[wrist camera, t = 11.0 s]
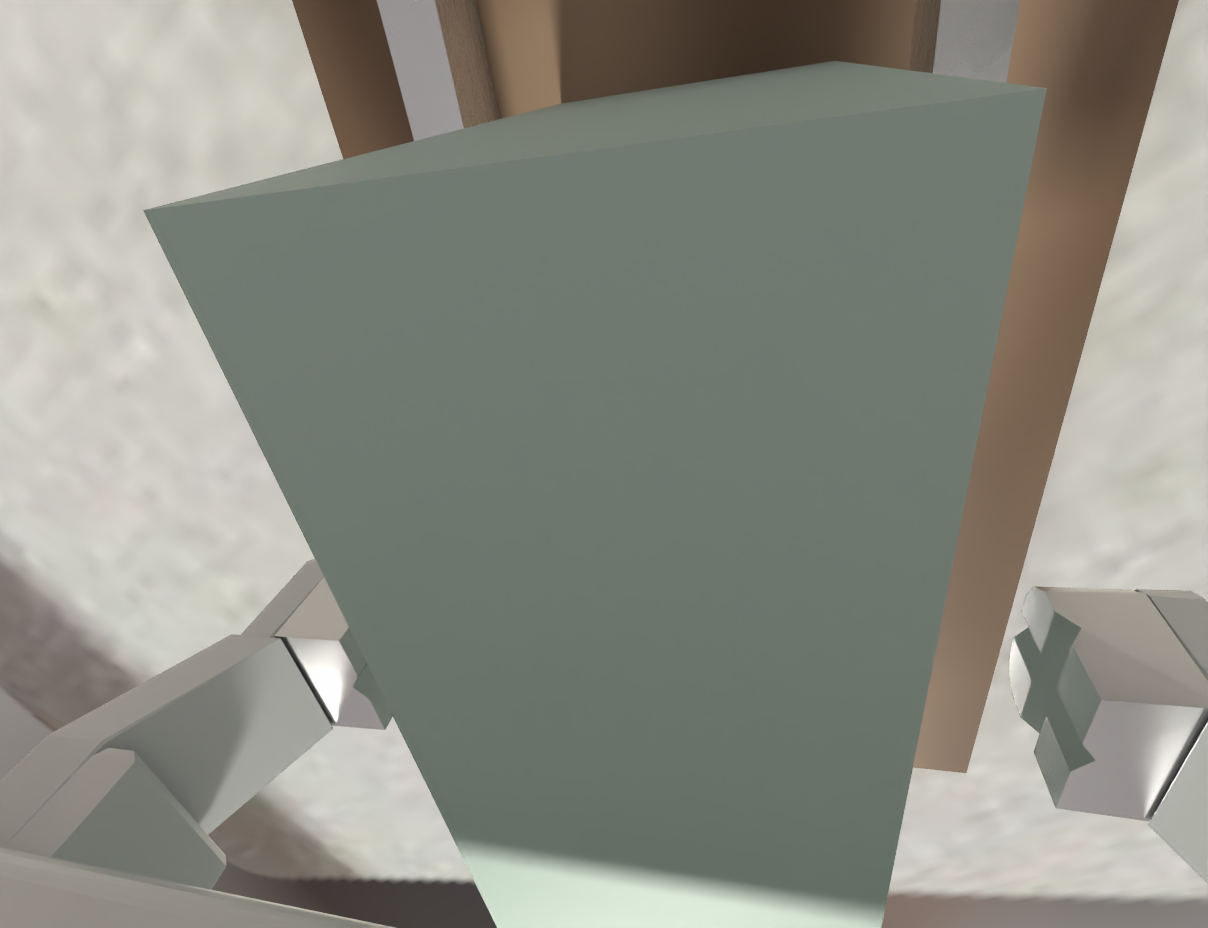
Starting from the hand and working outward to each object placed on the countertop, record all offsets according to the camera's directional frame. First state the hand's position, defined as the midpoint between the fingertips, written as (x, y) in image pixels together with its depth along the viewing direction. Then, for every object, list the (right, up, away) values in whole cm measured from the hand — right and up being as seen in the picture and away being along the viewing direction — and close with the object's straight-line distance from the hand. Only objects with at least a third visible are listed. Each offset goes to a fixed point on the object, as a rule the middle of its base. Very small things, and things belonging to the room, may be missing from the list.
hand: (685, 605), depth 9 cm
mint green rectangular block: (+1, +2, +4) cm, 5 cm away
